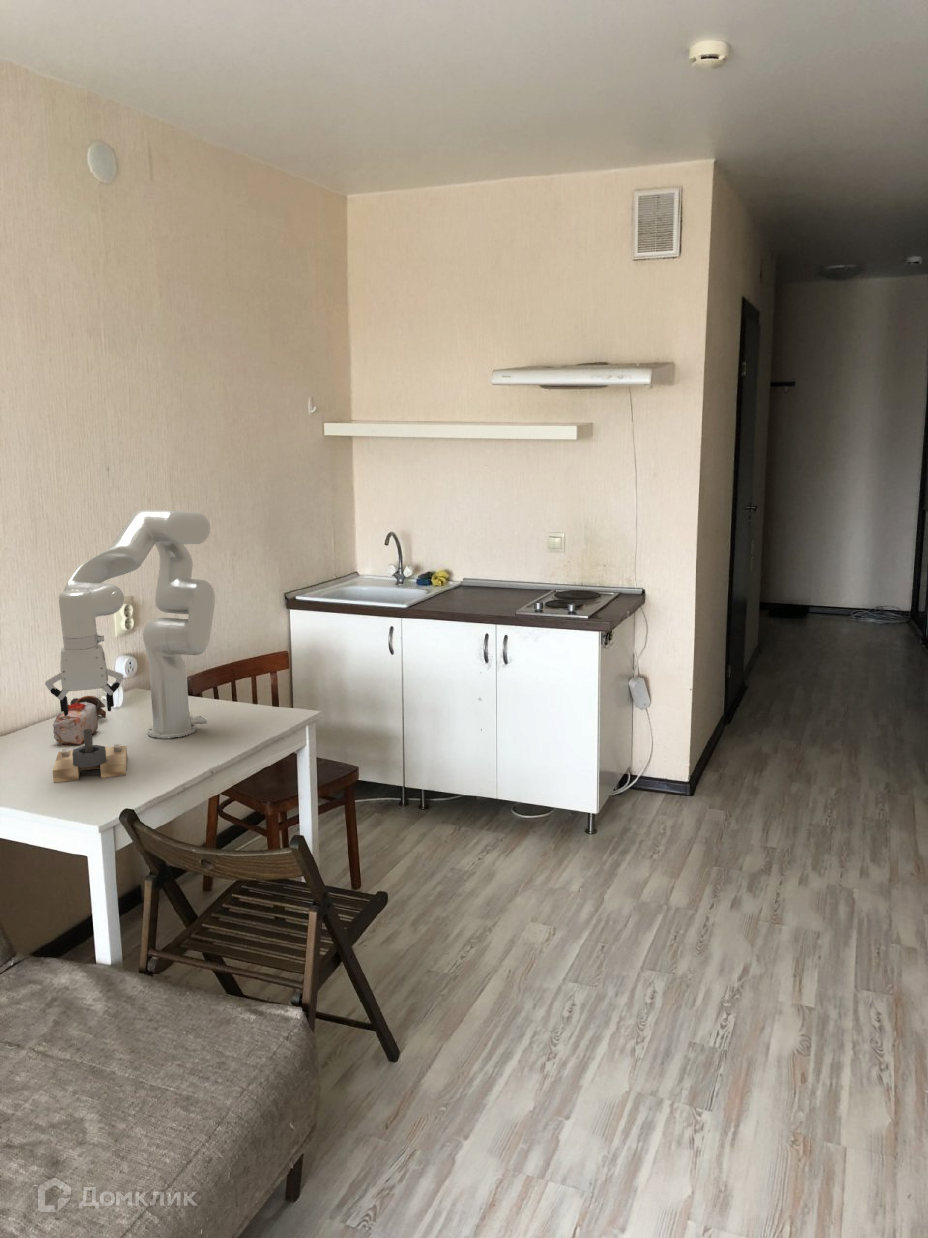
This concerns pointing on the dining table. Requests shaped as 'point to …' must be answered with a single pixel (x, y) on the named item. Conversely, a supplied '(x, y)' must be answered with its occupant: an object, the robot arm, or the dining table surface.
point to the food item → (75, 723)
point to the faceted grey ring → (89, 756)
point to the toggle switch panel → (110, 768)
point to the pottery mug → (93, 701)
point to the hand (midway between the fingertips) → (88, 711)
